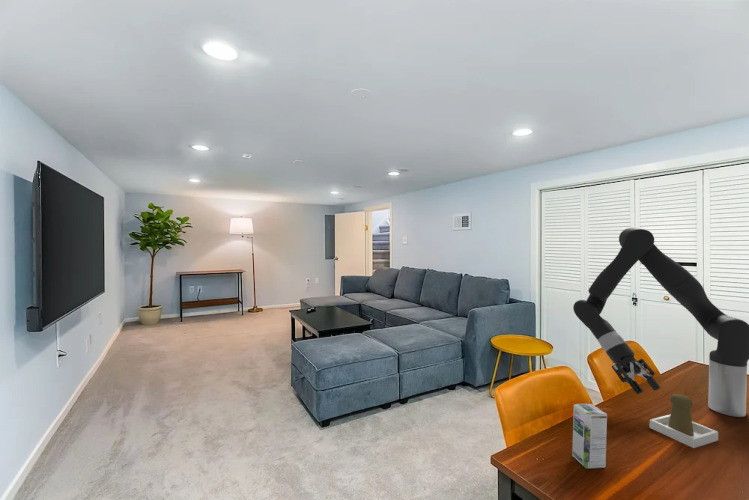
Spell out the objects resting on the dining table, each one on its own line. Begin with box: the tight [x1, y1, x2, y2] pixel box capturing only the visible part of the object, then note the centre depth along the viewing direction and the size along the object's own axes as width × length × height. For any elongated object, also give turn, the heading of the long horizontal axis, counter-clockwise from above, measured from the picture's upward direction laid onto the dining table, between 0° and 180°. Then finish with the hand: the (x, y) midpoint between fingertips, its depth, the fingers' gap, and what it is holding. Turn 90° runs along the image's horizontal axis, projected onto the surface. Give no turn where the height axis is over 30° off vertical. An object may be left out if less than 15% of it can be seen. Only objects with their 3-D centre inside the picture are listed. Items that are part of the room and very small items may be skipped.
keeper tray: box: [649, 414, 719, 449], centre depth 105 cm, size 12×12×3 cm
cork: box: [668, 393, 694, 436], centre depth 106 cm, size 6×6×11 cm
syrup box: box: [571, 403, 608, 469], centre depth 92 cm, size 6×6×14 cm
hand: (649, 391), depth 114 cm, fingers open, 8 cm apart
